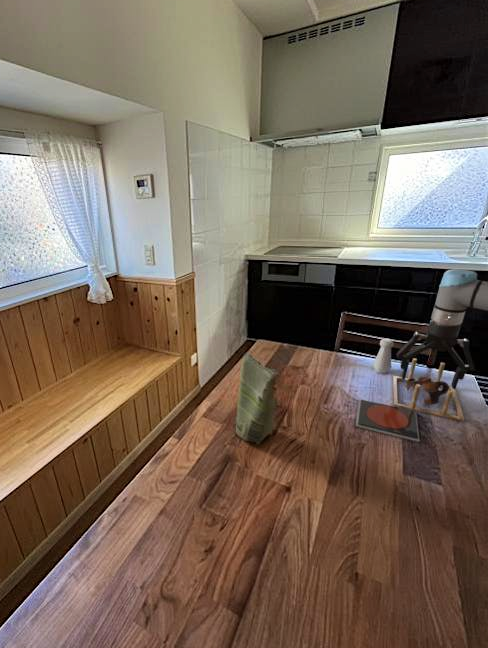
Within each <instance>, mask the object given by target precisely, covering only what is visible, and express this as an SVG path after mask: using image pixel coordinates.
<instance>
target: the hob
mask: <svg viewBox="0 0 488 648" xmlns="http://www.w3.org/2000/svg"><path fill="white" fill-rule="evenodd" d="M356 412H357V413H356V420H355V428H360V429H364V430H367V431H372V432H375V433H379V434H383V435H388V436H391V437H396V438H400V439H403V440H407V441H411V442H415V443H420V441H421V440H420V433H419V423H418V422H419V421H418V414H417V411H414V410H409V409H404V408H400V407H395V406H394V405H389V404H388V405H387V404H384V403H379V402H375V401H369V400H365V399H359V400H358V405H357V411H356Z"/></svg>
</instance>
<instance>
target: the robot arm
mask: <svg viewBox="0 0 488 648" xmlns="http://www.w3.org/2000/svg"><path fill="white" fill-rule="evenodd" d="M438 287H439V288H438V291H437V295H436V300H435V303H434V306H433V310H432V313H431V317H430V319H431V320H429V323H428V327H427V330H426V333H424V334H423V333H419V331H414V333H413V335H412V337H411V338H410V339H409V340H408V341H407V342H406V344H405V345H403V346H402V347H401V348H399V350H398V351H397V352H396V358H397V359H400V360H401V362H400V369H401V370H402V372H401V373H402V374H401V377H402V379H404V380H405V378H407V377H406V376H407V372H408V369H409V364H410V360H411V359H413V358H415V357H416V356H418V355H419V354H421V353H423V352H424V351H428V350H431V351H439V352H443V353H444V352H448V354H449V355H450V356H451V357H452V359H453V360H454V361H455V363H456V364H457V366H456V369H455V372H454V375H453V378H452V382H451V383H450V384H451V385H450V386H452V389H455V390H457V386H458V383H459V380H460V381H462V380H463V379H464V378H465V375H466V373H468V371H471V372H474V371H475V370H476V367H475V365H474V361H473V358H472V355H471V352H470V348H469V347H470V340H469V338H466V337H464V338H463V339H462V338H461V339H460V338H458V336H459V333H460V330H461V327H462V323H463V322H464V318H465V314H466V311H467V309H468V308H471V309H477V310H482V311H487V312H488V281H485V280H479V279H478V273H477V272H476V271H474V270H468V269H462V268H460V269H459V268H455V269H454V268H453V269H448V270H446V271H445V272H444V273H443V276H442V278H441V281H440V284H439V286H438ZM421 340H424V341H423V342H422V343H421V344H420V345H418V346H416V347H415V348H413V347H414V346H415V345H416V344H417V342H419V341H421ZM458 344H459V347H460V348H462V350H463V354H464V356H465V360H466V363H467V364H465V363H464V361H463V360H462V358H461V357H460V355H459V354H458V353H457V352H456V350H455V349H454V347H455V346H457V345H458ZM412 348H413V349H412Z"/></svg>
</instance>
